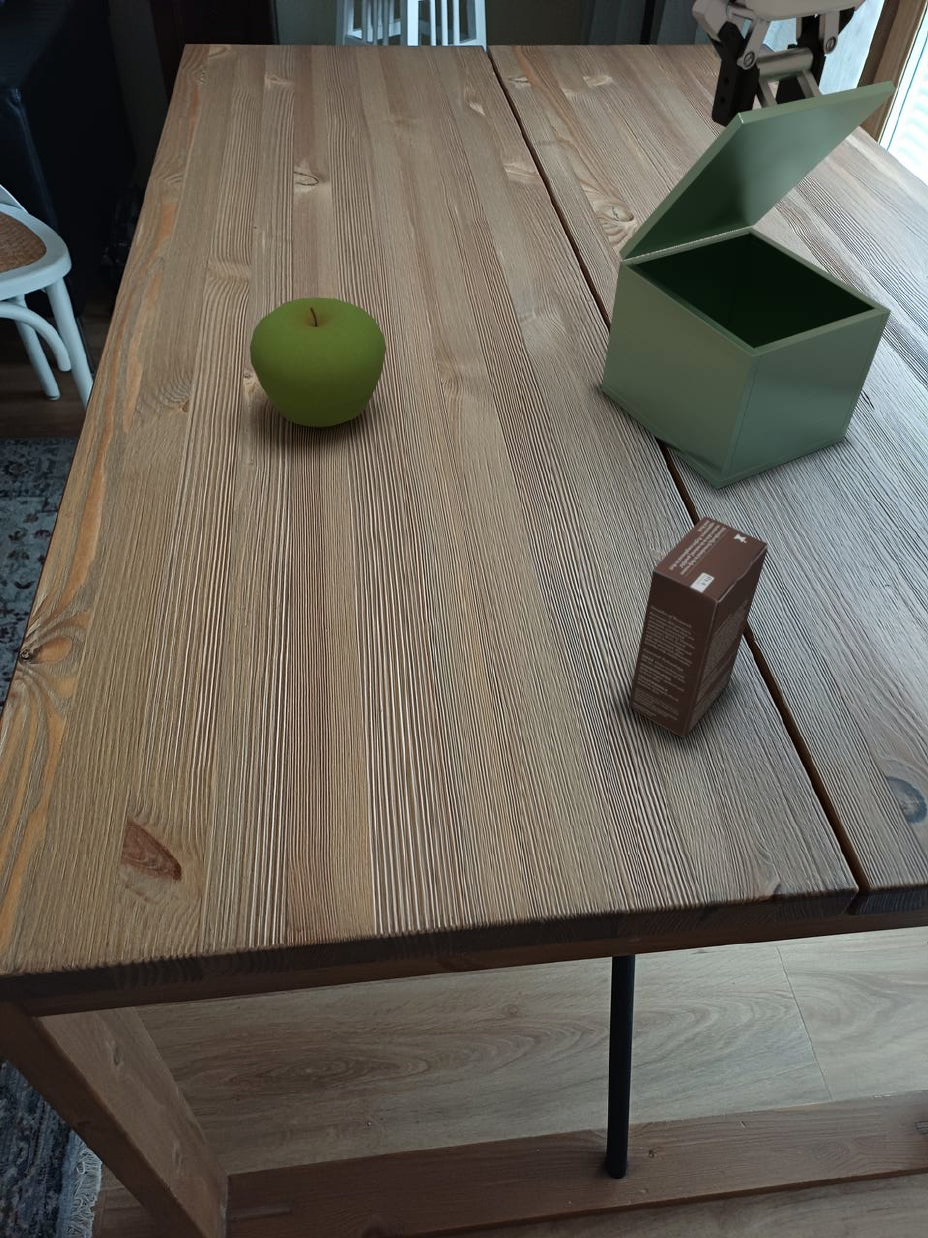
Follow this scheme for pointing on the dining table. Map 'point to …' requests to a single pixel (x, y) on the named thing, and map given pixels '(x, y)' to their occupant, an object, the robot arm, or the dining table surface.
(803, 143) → the bin lid
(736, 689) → the dining table surface
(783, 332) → the trash can
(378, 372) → the apple
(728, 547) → the box
